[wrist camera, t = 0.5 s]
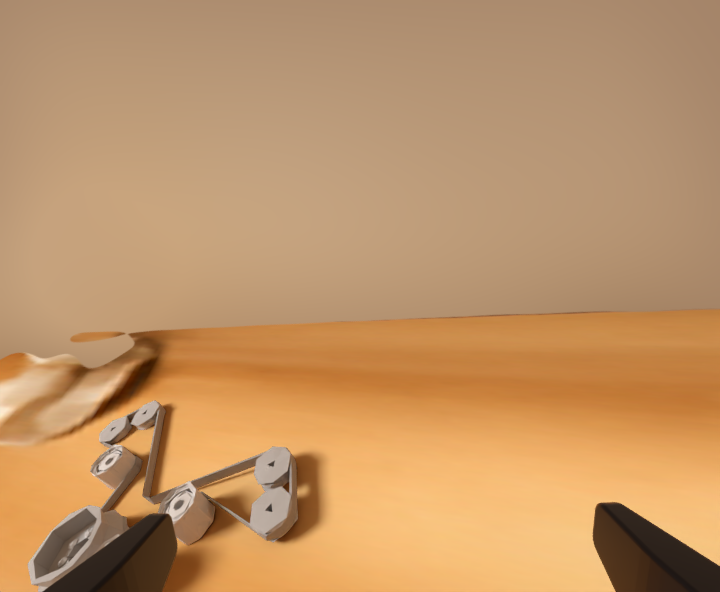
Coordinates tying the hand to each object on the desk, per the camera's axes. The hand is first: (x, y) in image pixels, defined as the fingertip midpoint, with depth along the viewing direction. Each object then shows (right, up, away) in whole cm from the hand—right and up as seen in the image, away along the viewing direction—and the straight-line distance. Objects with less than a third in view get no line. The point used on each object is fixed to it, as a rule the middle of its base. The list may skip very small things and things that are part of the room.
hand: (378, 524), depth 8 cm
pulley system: (-17, -13, +23) cm, 31 cm away
